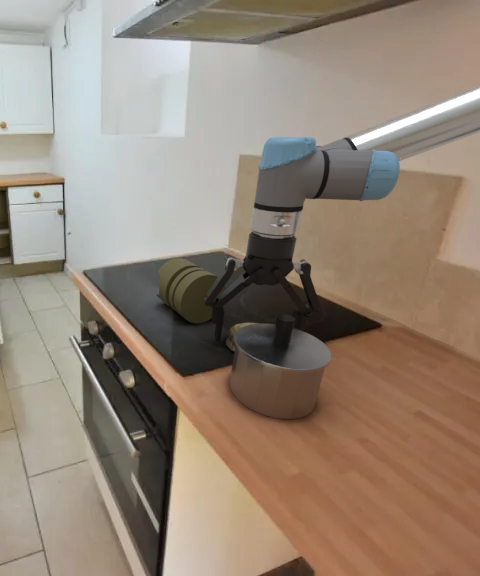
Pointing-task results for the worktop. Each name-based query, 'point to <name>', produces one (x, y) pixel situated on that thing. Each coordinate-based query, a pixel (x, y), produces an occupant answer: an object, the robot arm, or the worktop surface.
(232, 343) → the cake
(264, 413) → the pot
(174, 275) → the piston
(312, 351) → the pot lid
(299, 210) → the robot arm
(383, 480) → the worktop surface
